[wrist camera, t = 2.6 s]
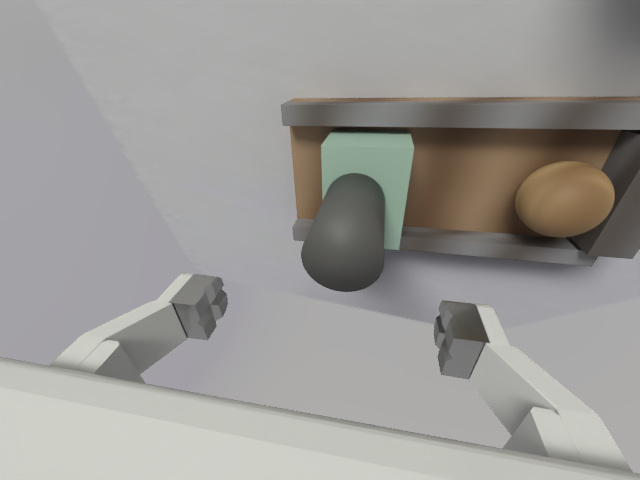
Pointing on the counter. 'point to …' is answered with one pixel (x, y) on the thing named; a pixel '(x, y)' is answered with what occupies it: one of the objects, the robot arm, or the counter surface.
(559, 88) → the counter surface
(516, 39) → the counter surface
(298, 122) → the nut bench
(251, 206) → the counter surface
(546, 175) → the walnut
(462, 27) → the counter surface
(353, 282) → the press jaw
